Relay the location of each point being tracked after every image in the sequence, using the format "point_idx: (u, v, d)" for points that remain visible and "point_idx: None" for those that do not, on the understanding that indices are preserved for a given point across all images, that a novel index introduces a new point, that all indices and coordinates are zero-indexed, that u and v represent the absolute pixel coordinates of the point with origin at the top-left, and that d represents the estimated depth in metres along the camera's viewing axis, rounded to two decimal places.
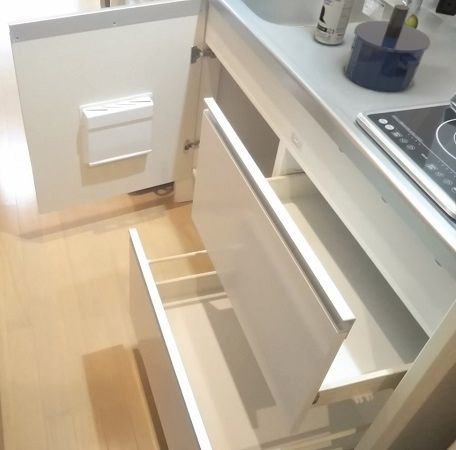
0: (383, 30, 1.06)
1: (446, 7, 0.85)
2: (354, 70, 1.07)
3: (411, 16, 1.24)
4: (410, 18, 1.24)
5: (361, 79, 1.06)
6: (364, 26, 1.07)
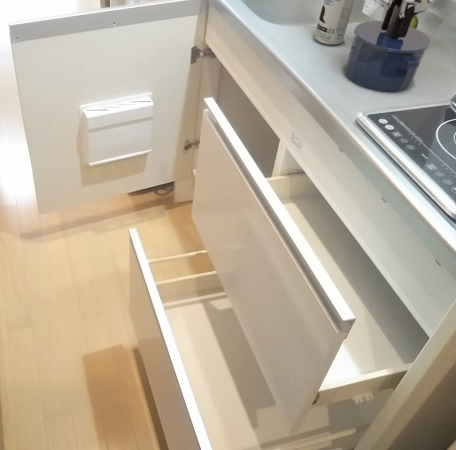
0: (383, 30, 1.06)
1: (401, 32, 1.01)
2: (354, 70, 1.07)
3: None
4: None
5: (361, 79, 1.06)
6: (364, 26, 1.07)
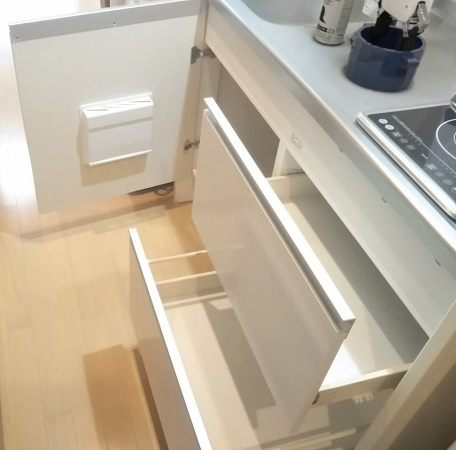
0: None
1: None
2: (354, 70, 1.07)
3: None
4: None
5: (361, 79, 1.06)
6: None
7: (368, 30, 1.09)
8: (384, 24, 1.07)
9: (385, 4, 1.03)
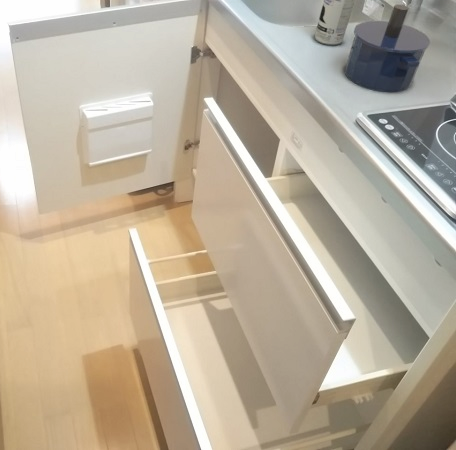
0: (383, 30, 1.06)
1: None
2: (354, 70, 1.07)
3: None
4: None
5: (361, 79, 1.06)
6: (364, 26, 1.07)
7: None
8: None
9: None
